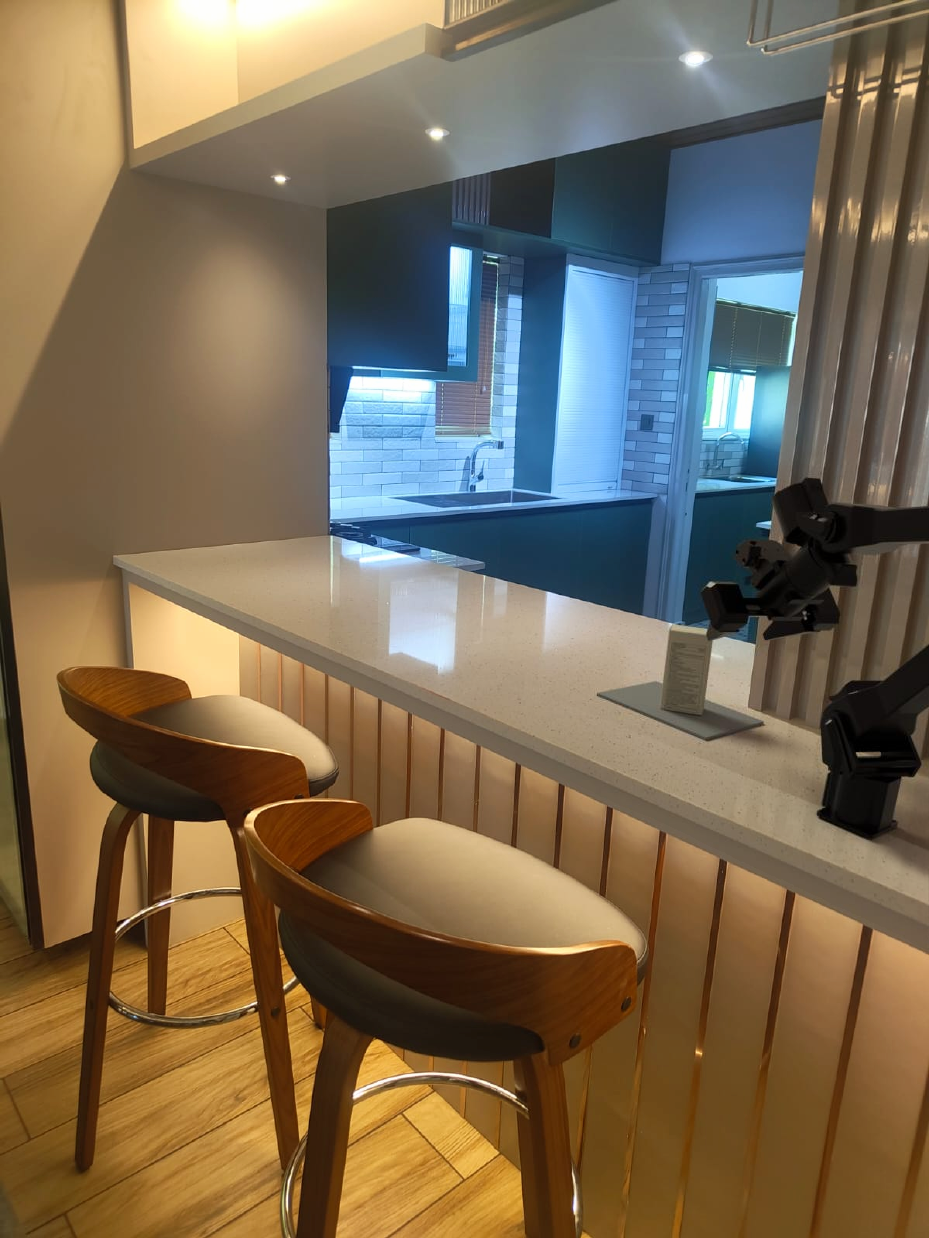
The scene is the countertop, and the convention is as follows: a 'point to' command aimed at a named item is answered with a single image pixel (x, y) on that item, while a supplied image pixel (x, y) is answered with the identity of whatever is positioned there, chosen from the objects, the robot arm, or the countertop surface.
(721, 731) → the slate mat
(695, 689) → the skincare box
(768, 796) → the countertop surface
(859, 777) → the robot arm
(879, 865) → the countertop surface
